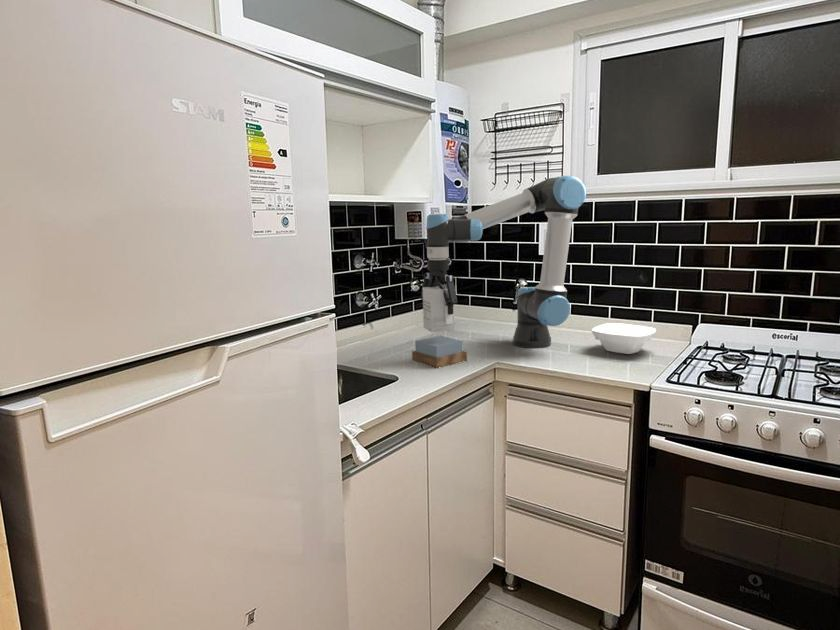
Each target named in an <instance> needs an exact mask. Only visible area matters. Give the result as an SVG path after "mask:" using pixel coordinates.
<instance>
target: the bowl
mask: <svg viewBox="0 0 840 630" xmlns="http://www.w3.org/2000/svg"><path fill="white" fill-rule="evenodd" d="M656 332H657V329H656V328H655V327H650V326H645V325H638V324H637V325H636V324H630V323H619V322H618V323H617V322H616V323H615V322H609V323H603V324H600V325H597V326H595V327H593V328H592V329H591V333H592V334H593V336H594V338H595V340H597V341H598V340H599V342H600V343H601V345H602V346H603V348H604V350H605V351H608V352H612V353H618V354H627V355H631V354H636V353H639V351H640V350H641V349H642V347H643V346H644V344H645V343H647V342H649V341H650V340H652V338H653V337H654V335H655V334H656Z"/></svg>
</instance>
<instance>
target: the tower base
mask: <svg viewBox="0 0 840 630" xmlns="http://www.w3.org/2000/svg"><path fill="white" fill-rule="evenodd" d="M411 357H412V359H411V361H413V362H416V363H419V364H421V363H422V364H421V365H424V364H425V366H427V365H428V367H430V366H431V367H430V368H433V367H434V368H433V369H436V368H437V369H440V368H439V367H441V368H445V367H448V365H449V366H453V365H457V364H460V363H459V362H462V363H464V362H463V361H466V362H468V353H467V351H465V350H462V352H459V353H455V354H451V355H446V356H442V357H438V358H436V357H433V356H429V355H426V354H423V353H419V352H416V350H412V351H411ZM456 363H457V364H456ZM452 364H453V365H452ZM444 366H445V367H444Z"/></svg>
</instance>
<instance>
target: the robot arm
mask: <svg viewBox="0 0 840 630" xmlns="http://www.w3.org/2000/svg"><path fill="white" fill-rule="evenodd" d="M586 197H587V190H586V186H585V183H583V181H582V180H581V179H580V178H578V177H576V176H573V175H562V176H561V175H560V176H557V177H550V178H547V179H545V180H542V181H540V182H537V183H536V184H534V185H532V186H529V187H527V188H525V189H523V190H522V192H521V193H518V194H516V195H513V196H511V197H507V198H506V199H503V200H500V201H497V202H495V203H492V204H490V205H487V206H484V207H482V208H479V209H476V210H473V211H471V212H468V213H466V214H464V215H461V216H458V217H455V218H449V215H448V214H447V213H440V214H439V213H437V214H436V213H431V214H428V215H427V217H426V227H425V228H426V256H427V257H426V258H427V259H428V260H427V262H426V265H427V266H426V268H427V271H428V272H425V273H423V283H422V288H421V293H420V299H421V300H423V287H436V286H439V288H440V289H443V293H444V298H445V301H446V305H445V324H451V323H453V315H452V314H453V305H454V306H455V305H457V304H458V302H459V301H458V298H457V297H458V296H457V293H456V292H457V291H456V287H455V283H454V281H455V280H454V279H455V278H454V275H453V274H451V275H448V272H447V271H448V270H450V269H449V268H450V266H449V265H450V264H449V263H450V261H449V257H450V254H449V253H450V251H449V248H450V247H449V242H474V241H479V240H481V239H482V236H483V233H484V232H483V231H484V229H487V228H490V227H492V226H496V225H498V224H500V223H502V222H506V221H507V220H512V219H513V218H516V217H520V216H522V215H525V214H527V213H530V214H534V213H537V212H541V211H544V214H545V216H546V217H547V223H546V224H547V225H546V234H545V239H544V241H545V242H544V249H543V256H542V258H543V259H542V265H541V273H540V281H539V283H538V284H537V285H535V286H528V287H520V288H518V290H517V296H516V297H517V324H516V327H515V331H514V334H513V337H512V344H513V345H514V346H516V347H522V348H529V349H530V348H531V349H536V348H537V349H539V348H545V347H549V346H551V345H552V337H551V334H550V330H549V327H557V326H560V325H562V324H563V323H564V322H565V321H566V320H567V319H568V318H569V316H570V313H571V304H570V302H569V300H568V299H567V295H568V290H567V288H566V287H565V286H564V285H565V277H566V270H567V263H568V262H567V261H568V255H569V247H570V241H571V232H572V226H573V220H574V219H575V218H576V217H577V216H578V213H579V208H580V207H581V206H582V205H583V204H584V203H585V201H586ZM445 289H447V290H448V291H446V290H445ZM453 300H454V301H453ZM449 301H450V302H449Z"/></svg>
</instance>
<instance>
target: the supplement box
mask: <svg viewBox="0 0 840 630" xmlns="http://www.w3.org/2000/svg"><path fill="white" fill-rule="evenodd" d="M445 290H446V291H448V290H447V289H445ZM453 301H454V300H453ZM449 302H450V301H449ZM445 305H446V301H445V298H444V293H443V289H440V288H439V286H436V287H423V299H422V312H423V313H422V315H423V319H422V320H423V321H422V322H423V328H424V329H425V330H427V331H429V332H430V333H438V332H449V331H455V329H456V327H455V325H456V323H455V322H456V321H455V304H454V305H453V314H452V315H453V323H451V324H445Z"/></svg>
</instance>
